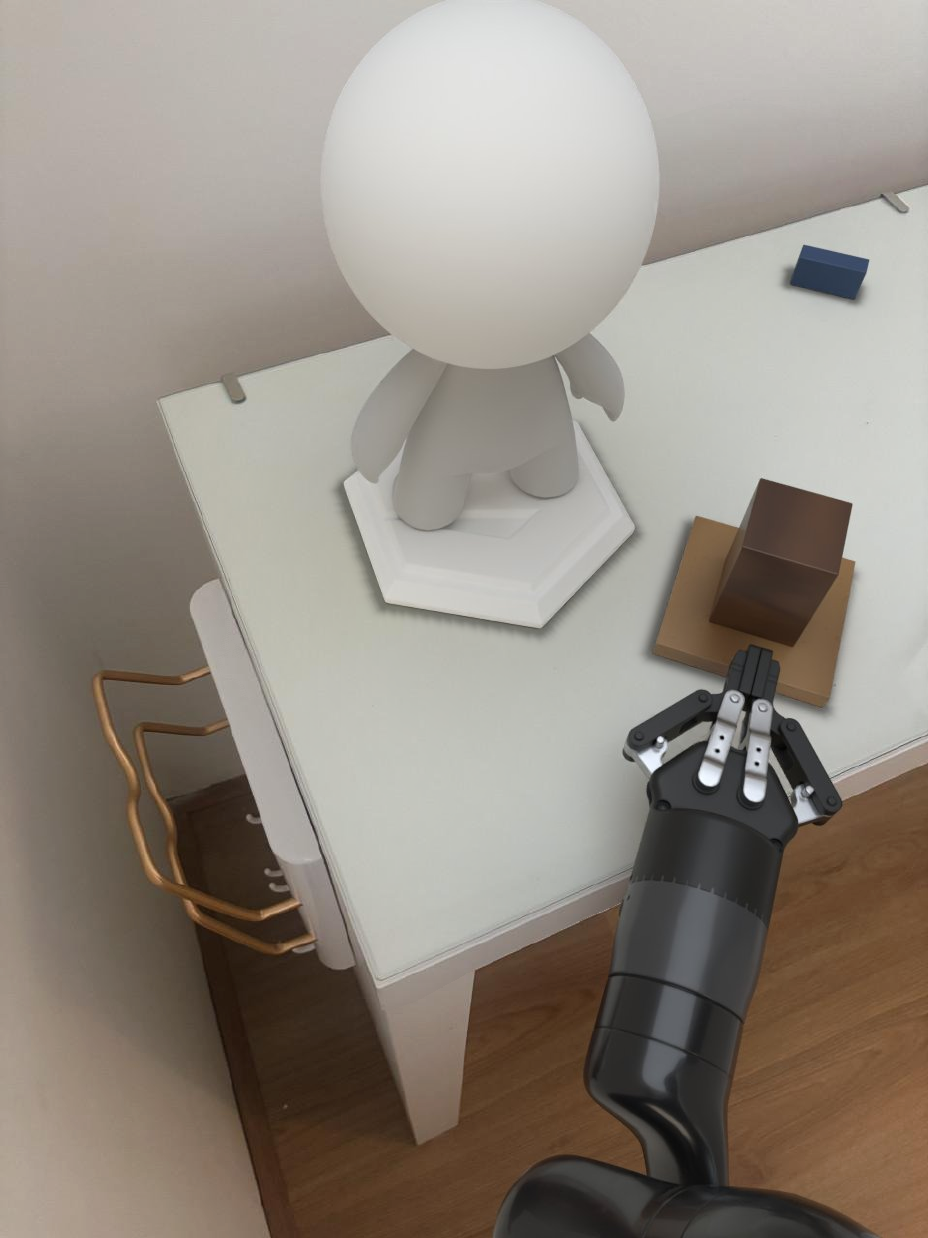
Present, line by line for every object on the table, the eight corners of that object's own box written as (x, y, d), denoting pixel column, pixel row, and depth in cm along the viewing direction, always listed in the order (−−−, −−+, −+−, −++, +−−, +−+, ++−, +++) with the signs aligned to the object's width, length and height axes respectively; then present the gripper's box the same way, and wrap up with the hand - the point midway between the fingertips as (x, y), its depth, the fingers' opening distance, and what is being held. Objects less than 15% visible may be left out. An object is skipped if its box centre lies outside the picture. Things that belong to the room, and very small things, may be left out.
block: (848, 572, 69) (906, 481, 60) (822, 707, 63) (882, 629, 54) (691, 526, 71) (725, 432, 62) (652, 653, 65) (682, 569, 56)
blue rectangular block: (857, 286, 86) (869, 258, 83) (854, 299, 85) (866, 272, 82) (793, 271, 87) (803, 243, 84) (789, 284, 86) (799, 256, 83)
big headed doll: (550, 380, 79) (605, -105, 49) (666, 591, 68) (828, 127, 38) (325, 436, 76) (238, -50, 46) (408, 668, 64) (362, 225, 34)
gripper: (844, 947, 45) (888, 656, 53) (584, 853, 47) (666, 588, 56) (796, 976, 51) (842, 712, 60) (569, 892, 53) (644, 649, 62)
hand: (757, 653), depth 58 cm, fingers closed
